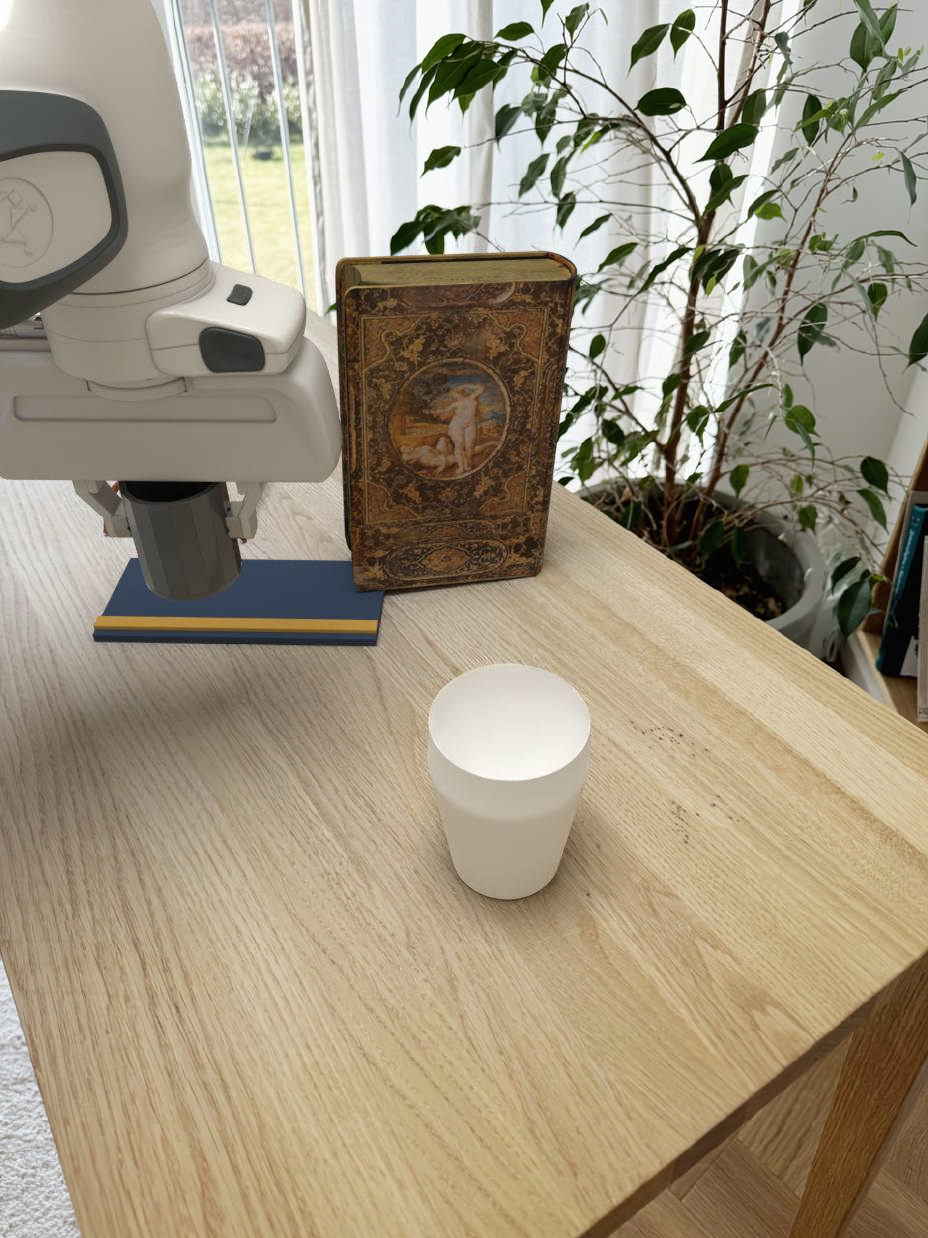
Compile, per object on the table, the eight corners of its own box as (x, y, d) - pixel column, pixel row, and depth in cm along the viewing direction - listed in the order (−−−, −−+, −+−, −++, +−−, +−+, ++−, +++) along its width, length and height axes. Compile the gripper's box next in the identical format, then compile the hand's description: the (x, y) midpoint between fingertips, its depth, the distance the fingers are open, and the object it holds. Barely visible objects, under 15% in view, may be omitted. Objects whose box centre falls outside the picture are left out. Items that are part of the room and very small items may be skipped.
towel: (94, 641, 75) (90, 630, 75) (132, 563, 83) (129, 553, 82) (376, 646, 75) (375, 635, 74) (388, 567, 82) (388, 556, 81)
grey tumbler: (133, 600, 59) (104, 505, 55) (160, 543, 64) (136, 450, 59) (230, 602, 59) (209, 506, 55) (250, 544, 64) (233, 451, 59)
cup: (469, 942, 55) (467, 807, 47) (410, 825, 61) (400, 689, 54) (606, 885, 58) (626, 749, 50) (537, 779, 64) (544, 643, 56)
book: (532, 536, 85) (563, 249, 69) (549, 574, 81) (586, 279, 65) (345, 553, 82) (332, 257, 66) (353, 593, 78) (341, 288, 62)
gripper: (-90, 341, 49) (-1, 561, 58) (315, 342, 48) (341, 566, 57) (-37, 291, 53) (38, 502, 62) (333, 292, 53) (354, 505, 62)
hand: (185, 533), depth 60 cm, fingers closed on grey tumbler, 6 cm apart
